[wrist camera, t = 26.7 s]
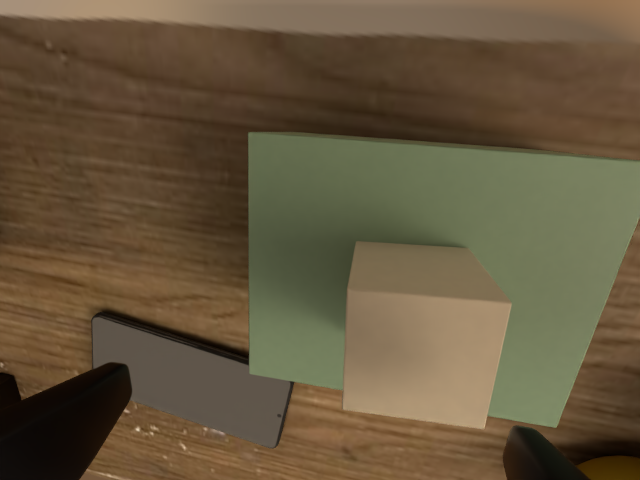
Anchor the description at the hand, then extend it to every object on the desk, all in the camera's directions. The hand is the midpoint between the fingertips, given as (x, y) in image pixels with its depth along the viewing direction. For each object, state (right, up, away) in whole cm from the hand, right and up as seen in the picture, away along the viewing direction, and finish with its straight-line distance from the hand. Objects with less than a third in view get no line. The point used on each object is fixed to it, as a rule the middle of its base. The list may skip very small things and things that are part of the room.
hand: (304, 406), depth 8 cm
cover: (+4, +2, +5) cm, 7 cm away
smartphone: (-9, -6, +17) cm, 20 cm away
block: (+4, +2, +5) cm, 6 cm away
